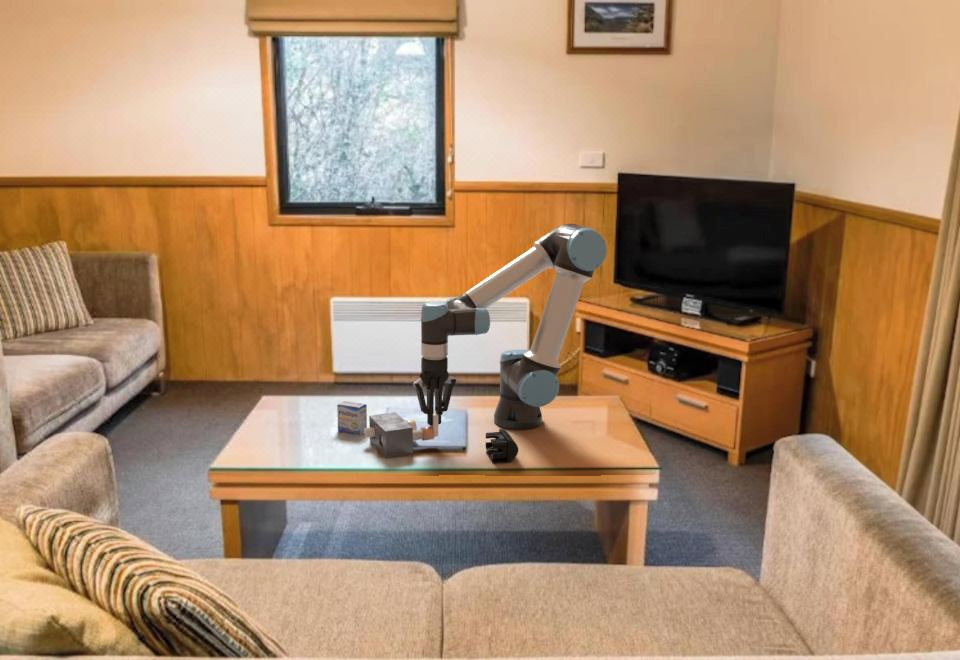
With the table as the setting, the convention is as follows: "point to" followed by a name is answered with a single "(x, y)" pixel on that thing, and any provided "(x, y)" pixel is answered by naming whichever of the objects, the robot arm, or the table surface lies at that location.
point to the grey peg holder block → (392, 435)
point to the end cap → (501, 447)
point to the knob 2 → (421, 434)
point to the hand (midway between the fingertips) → (434, 435)
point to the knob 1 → (371, 431)
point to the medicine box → (352, 417)
